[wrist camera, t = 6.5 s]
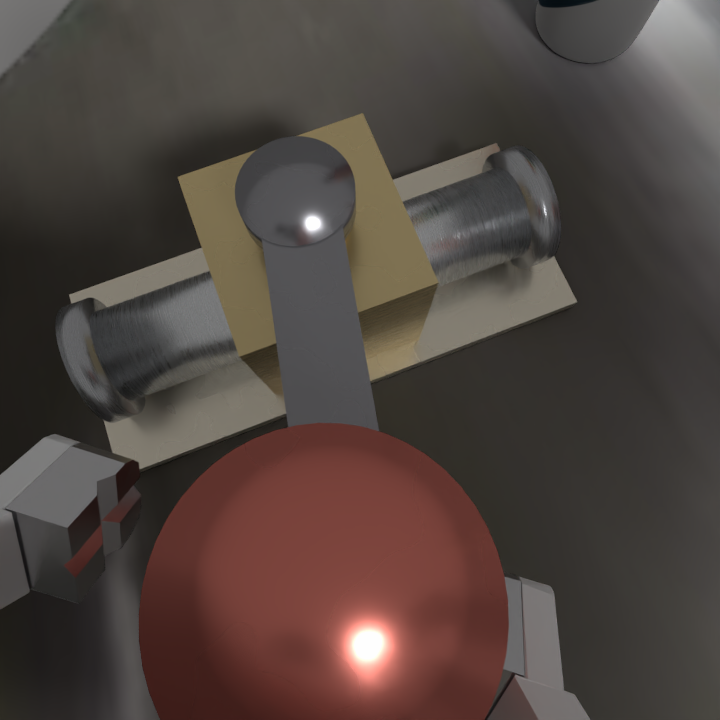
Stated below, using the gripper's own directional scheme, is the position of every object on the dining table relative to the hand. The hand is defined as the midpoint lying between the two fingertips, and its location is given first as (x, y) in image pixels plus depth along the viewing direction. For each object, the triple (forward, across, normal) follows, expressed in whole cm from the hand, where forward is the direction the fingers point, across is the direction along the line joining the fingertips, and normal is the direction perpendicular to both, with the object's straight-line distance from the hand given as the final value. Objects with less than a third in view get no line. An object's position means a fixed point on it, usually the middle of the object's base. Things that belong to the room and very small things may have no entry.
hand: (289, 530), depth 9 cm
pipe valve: (+17, -4, -4) cm, 18 cm away
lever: (+7, -1, -1) cm, 8 cm away
